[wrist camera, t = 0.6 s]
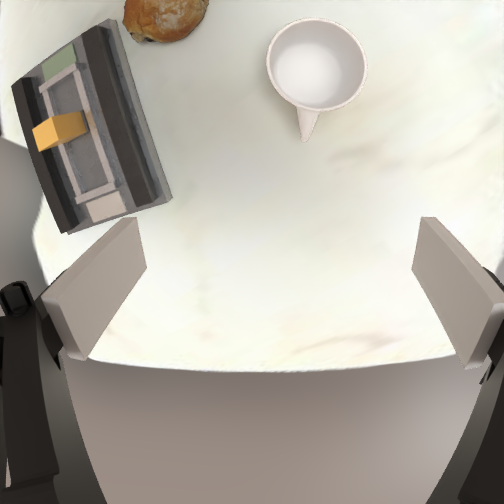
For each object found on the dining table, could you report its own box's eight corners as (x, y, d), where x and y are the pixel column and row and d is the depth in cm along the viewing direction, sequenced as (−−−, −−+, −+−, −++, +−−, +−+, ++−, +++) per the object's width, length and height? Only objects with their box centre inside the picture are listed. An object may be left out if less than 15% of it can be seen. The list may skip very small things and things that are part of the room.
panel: (24, 81, 34) (6, 82, 30) (116, 21, 30) (99, 15, 26) (75, 229, 45) (60, 241, 41) (172, 197, 41) (161, 208, 37)
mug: (263, 130, 36) (255, 141, 26) (275, 34, 30) (271, 11, 21) (335, 141, 36) (353, 157, 26) (349, 47, 30) (372, 29, 21)
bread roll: (213, 34, 34) (228, 9, 27) (138, 63, 32) (136, 41, 25) (186, -20, 30) (195, -51, 23) (113, 6, 29) (108, -23, 21)
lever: (62, 122, 35) (30, 130, 29) (85, 109, 34) (53, 115, 28) (68, 142, 36) (37, 153, 30) (92, 129, 35) (60, 138, 29)
